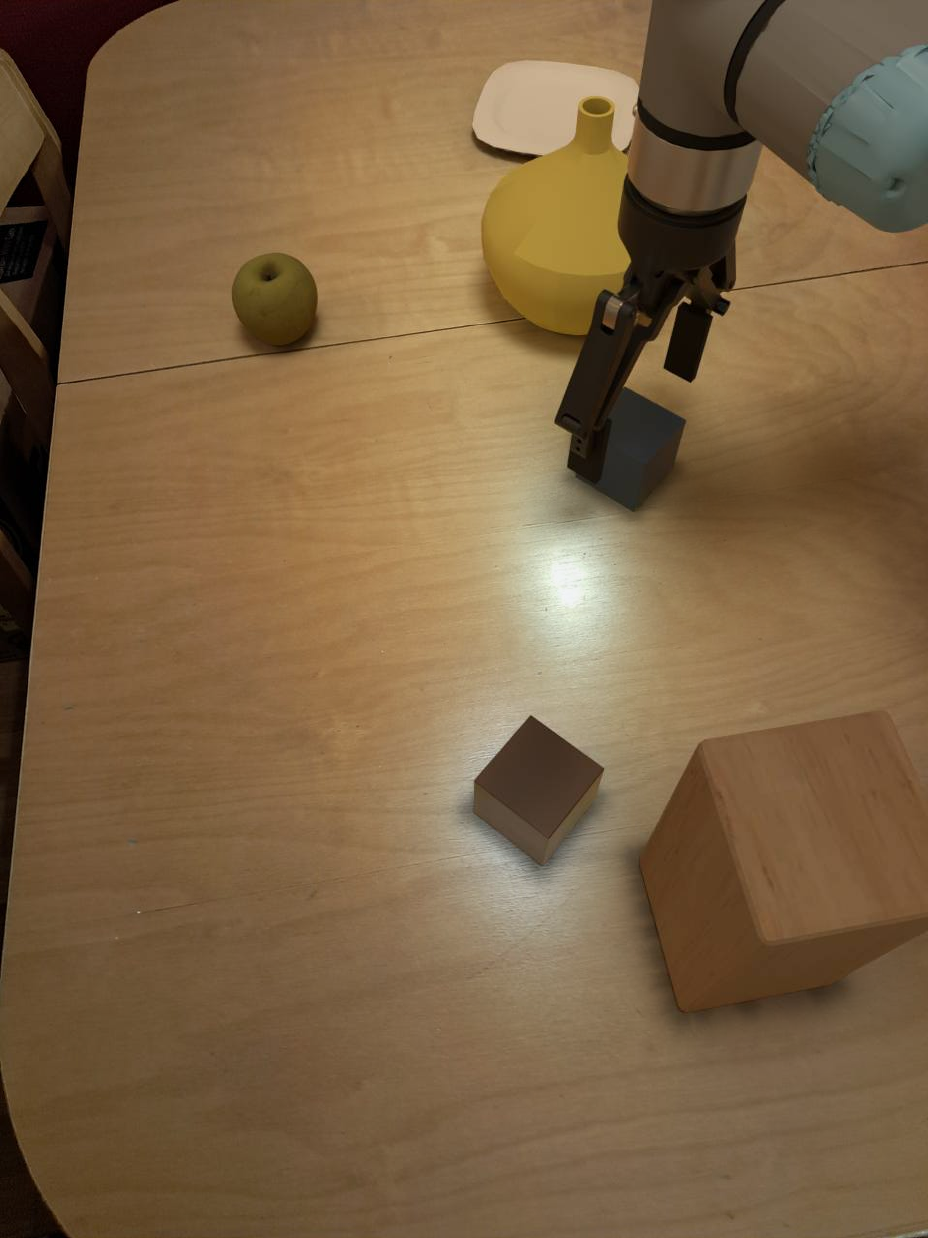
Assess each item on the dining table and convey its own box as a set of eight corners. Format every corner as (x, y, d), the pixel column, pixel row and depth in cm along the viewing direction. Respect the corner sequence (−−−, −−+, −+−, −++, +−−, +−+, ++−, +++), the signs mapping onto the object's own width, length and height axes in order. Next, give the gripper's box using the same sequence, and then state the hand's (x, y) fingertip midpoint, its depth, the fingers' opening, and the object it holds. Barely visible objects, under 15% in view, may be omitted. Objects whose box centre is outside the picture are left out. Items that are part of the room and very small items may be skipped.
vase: (504, 380, 86) (511, 191, 69) (463, 252, 95) (461, 58, 79) (695, 349, 88) (746, 158, 71) (636, 226, 97) (670, 32, 81)
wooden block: (778, 832, 64) (890, 704, 47) (832, 985, 59) (980, 905, 42) (636, 857, 63) (696, 737, 46) (678, 1015, 58) (764, 945, 41)
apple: (226, 346, 88) (208, 284, 82) (271, 294, 92) (256, 231, 86) (296, 371, 87) (282, 309, 81) (338, 316, 90) (328, 254, 84)
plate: (646, 85, 110) (648, 71, 109) (624, 178, 101) (626, 163, 100) (495, 67, 112) (495, 52, 111) (461, 156, 103) (461, 141, 102)
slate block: (673, 468, 80) (686, 419, 75) (633, 512, 78) (645, 464, 73) (615, 435, 82) (624, 385, 77) (575, 476, 80) (582, 428, 75)
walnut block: (594, 800, 65) (605, 768, 60) (542, 867, 63) (548, 839, 58) (526, 749, 67) (530, 714, 62) (473, 812, 65) (473, 780, 60)
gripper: (739, 67, 63) (677, 316, 81) (512, 260, 53) (500, 493, 71) (840, 108, 60) (753, 355, 79) (622, 319, 51) (580, 545, 69)
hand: (633, 421), depth 75 cm, fingers open, 13 cm apart
